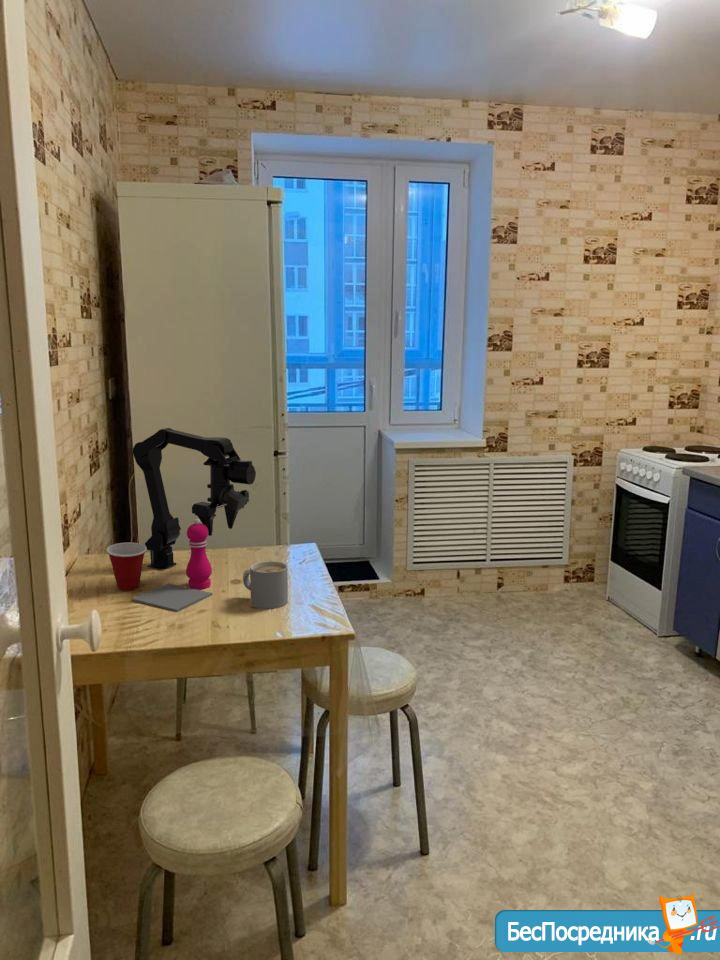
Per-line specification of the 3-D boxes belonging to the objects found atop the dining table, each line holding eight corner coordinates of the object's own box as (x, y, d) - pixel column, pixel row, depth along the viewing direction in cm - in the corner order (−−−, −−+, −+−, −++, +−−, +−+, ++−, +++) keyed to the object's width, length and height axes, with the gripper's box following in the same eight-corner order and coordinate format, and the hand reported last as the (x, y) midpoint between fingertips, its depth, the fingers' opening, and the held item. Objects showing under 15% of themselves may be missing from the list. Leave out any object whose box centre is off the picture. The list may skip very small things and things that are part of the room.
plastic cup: (124, 597, 191) (121, 555, 189) (101, 589, 197) (98, 548, 195) (156, 586, 200) (154, 546, 197) (133, 578, 206) (131, 539, 204)
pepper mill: (216, 583, 203) (214, 516, 199) (204, 591, 196) (202, 522, 192) (194, 580, 205) (191, 514, 201) (181, 588, 198) (179, 520, 194)
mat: (132, 600, 189) (132, 598, 188) (168, 585, 201) (168, 583, 201) (177, 611, 181) (177, 609, 181) (212, 595, 193) (212, 593, 193)
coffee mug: (295, 601, 189) (295, 566, 187) (267, 611, 182) (267, 575, 180) (262, 589, 198) (262, 556, 196) (235, 599, 191) (234, 564, 189)
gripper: (220, 490, 193) (220, 544, 197) (261, 479, 209) (261, 529, 213) (190, 484, 199) (190, 537, 202) (232, 474, 215) (232, 523, 218)
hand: (220, 532), depth 208 cm, fingers open, 9 cm apart
